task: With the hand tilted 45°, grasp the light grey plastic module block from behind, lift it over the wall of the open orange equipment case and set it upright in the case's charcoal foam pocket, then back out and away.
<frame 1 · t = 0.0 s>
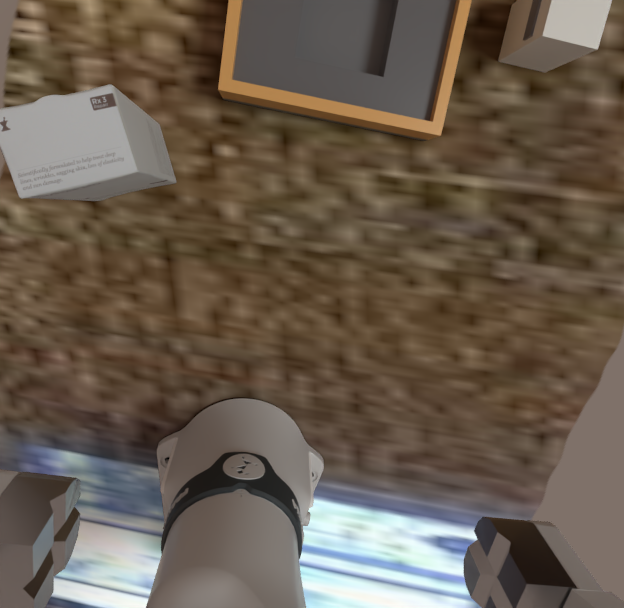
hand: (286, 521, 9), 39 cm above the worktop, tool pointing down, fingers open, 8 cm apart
module: (528, 39, 44), on the worktop
skincare box: (130, 160, 44), on the worktop
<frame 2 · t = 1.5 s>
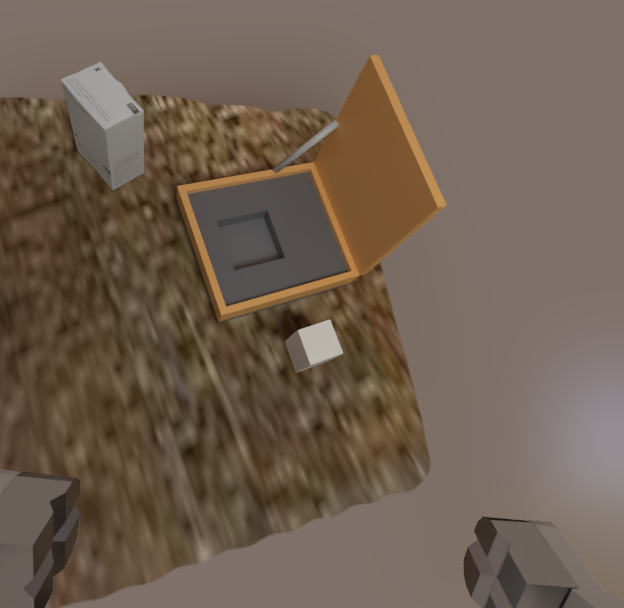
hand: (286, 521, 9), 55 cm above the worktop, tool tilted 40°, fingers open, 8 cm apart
module: (305, 351, 68), on the worktop
skincare box: (113, 163, 68), on the worktop
equipment case: (265, 244, 71), on the worktop
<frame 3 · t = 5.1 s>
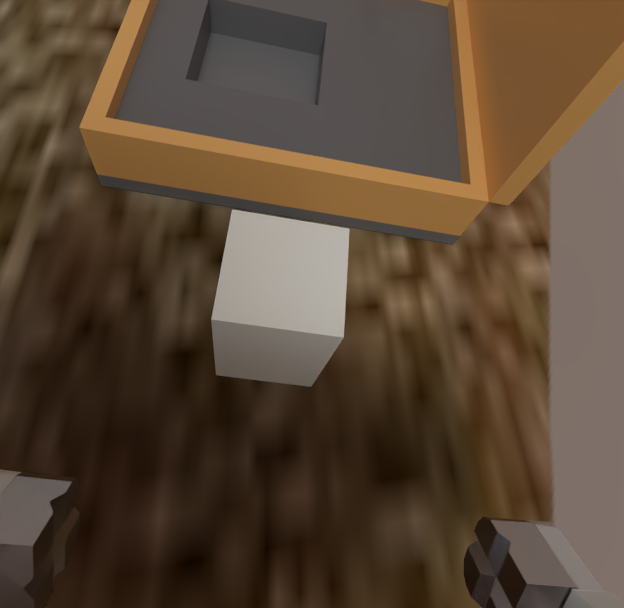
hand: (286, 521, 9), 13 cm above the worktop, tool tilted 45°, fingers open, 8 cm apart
module: (269, 336, 25), on the worktop
equipment case: (299, 102, 32), on the worktop
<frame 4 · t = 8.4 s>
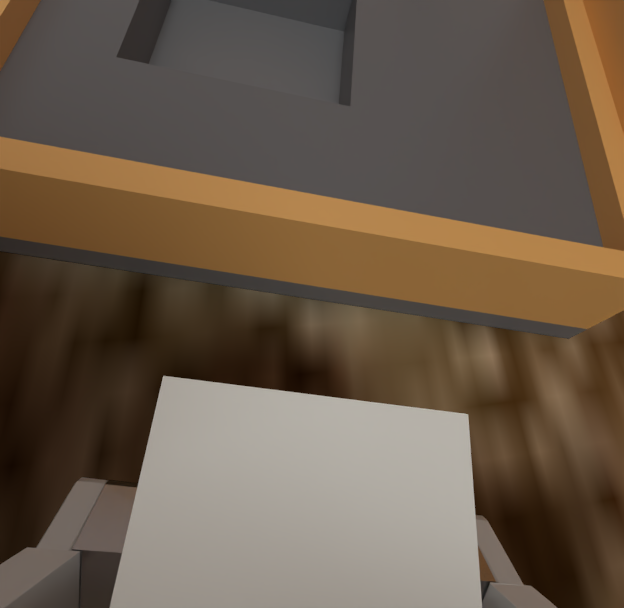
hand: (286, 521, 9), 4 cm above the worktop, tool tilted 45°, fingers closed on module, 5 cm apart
module: (263, 546, 13), on the worktop, touching gripper
equipment case: (313, 102, 21), on the worktop
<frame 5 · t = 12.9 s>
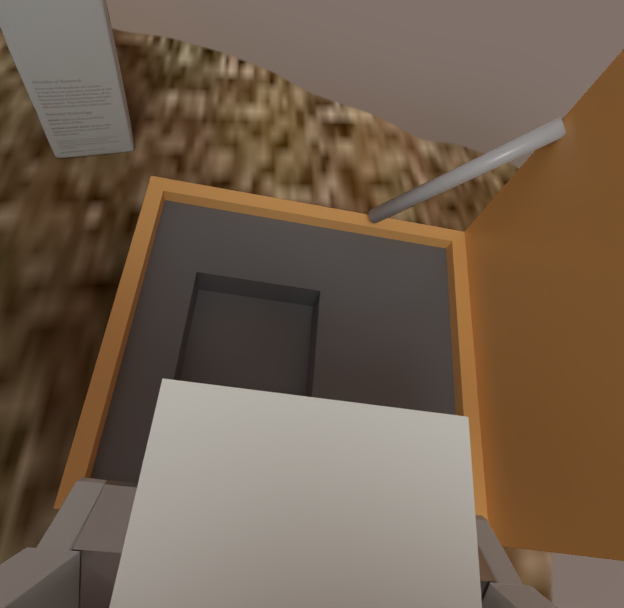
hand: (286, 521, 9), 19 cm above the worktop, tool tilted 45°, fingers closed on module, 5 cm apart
module: (263, 548, 13), point 15 cm above the worktop, touching gripper
skincare box: (92, 121, 37), on the worktop
equipment case: (291, 362, 31), on the worktop
when the fingers open (7 cm above the worktop, at t = 17.3 s): module drops 1 cm, resting on equipment case.
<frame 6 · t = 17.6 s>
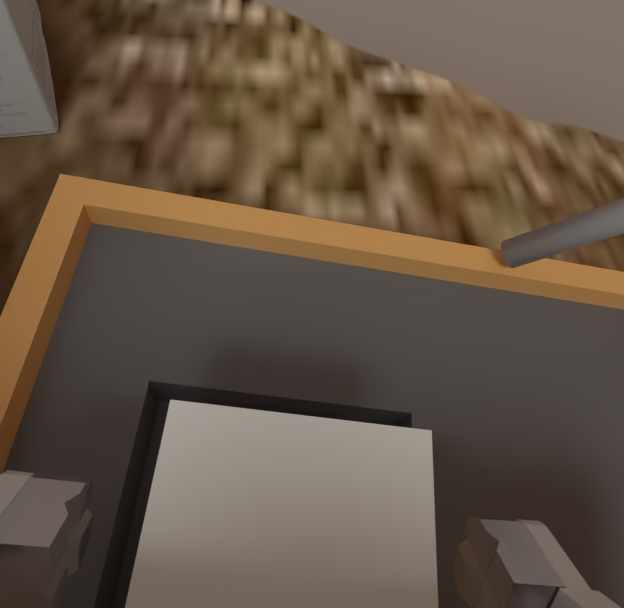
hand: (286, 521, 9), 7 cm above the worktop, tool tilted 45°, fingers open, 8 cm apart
module: (259, 544, 14), point 1 cm above the worktop, touching equipment case
equipment case: (347, 548, 15), on the worktop
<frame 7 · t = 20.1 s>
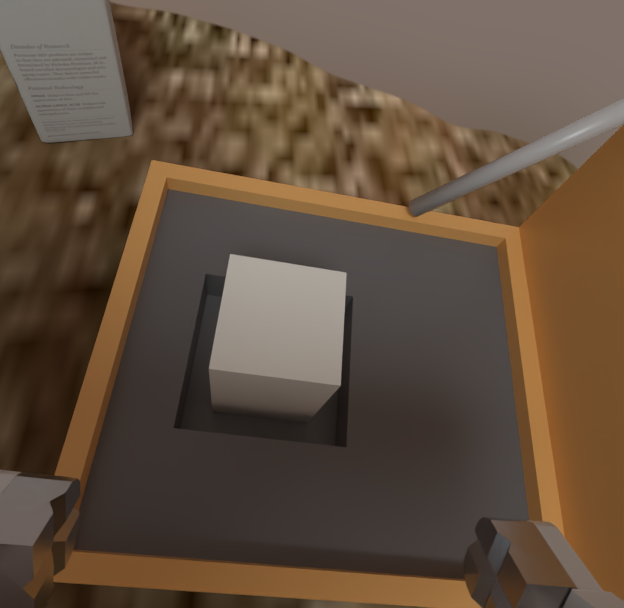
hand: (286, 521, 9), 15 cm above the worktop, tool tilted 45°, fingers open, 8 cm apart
module: (266, 371, 25), point 1 cm above the worktop, touching equipment case
skincare box: (85, 102, 32), on the worktop
equipment case: (317, 382, 26), on the worktop
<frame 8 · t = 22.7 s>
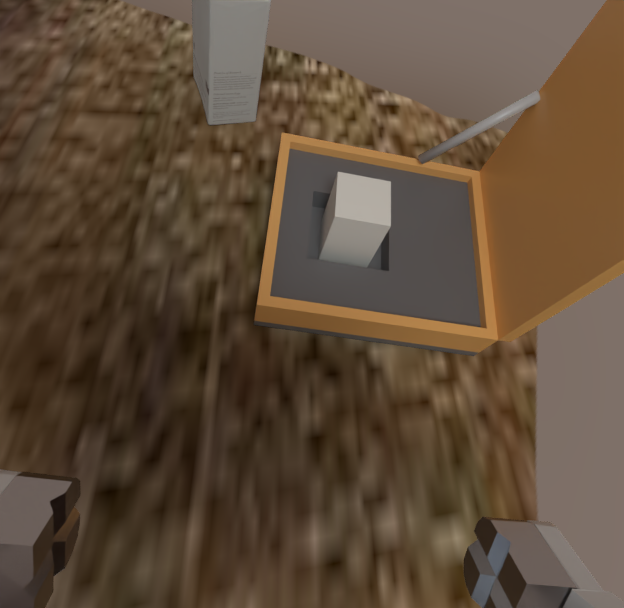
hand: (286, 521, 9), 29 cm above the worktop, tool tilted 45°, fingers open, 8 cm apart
module: (343, 243, 47), point 1 cm above the worktop, touching equipment case
skincare box: (226, 102, 54), on the worktop
equipment case: (369, 253, 48), on the worktop
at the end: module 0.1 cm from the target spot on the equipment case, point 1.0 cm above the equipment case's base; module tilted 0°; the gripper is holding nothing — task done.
